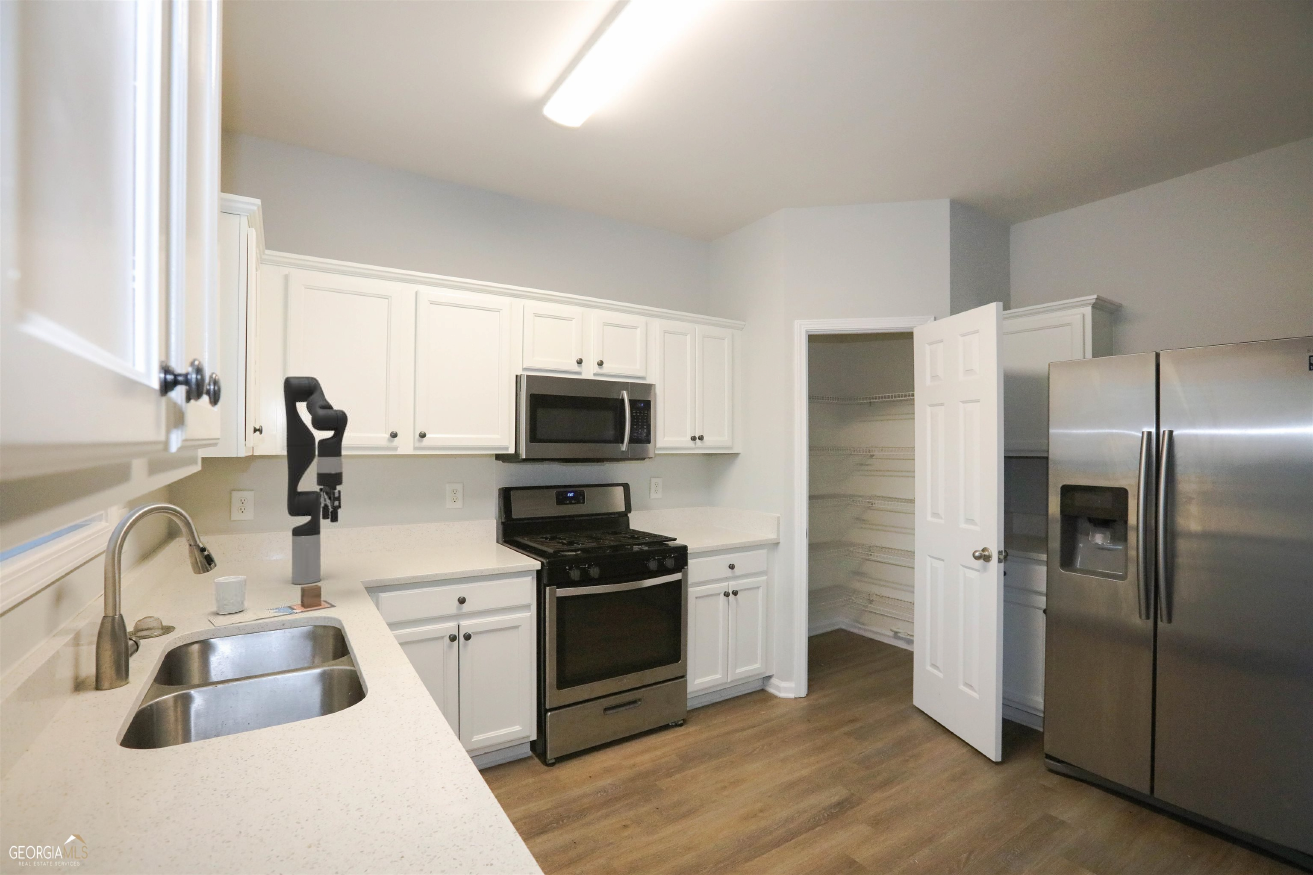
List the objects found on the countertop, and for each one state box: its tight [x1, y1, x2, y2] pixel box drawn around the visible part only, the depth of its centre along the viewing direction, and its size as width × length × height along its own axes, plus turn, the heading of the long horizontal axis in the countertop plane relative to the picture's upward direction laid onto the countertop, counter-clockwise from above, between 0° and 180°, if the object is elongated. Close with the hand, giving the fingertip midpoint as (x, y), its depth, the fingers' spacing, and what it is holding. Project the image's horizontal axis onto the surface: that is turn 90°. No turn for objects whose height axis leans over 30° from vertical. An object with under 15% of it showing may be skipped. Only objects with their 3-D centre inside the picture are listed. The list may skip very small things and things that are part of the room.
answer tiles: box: [267, 599, 337, 614], centre depth 188 cm, size 11×31×1 cm, turn 134°
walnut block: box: [300, 584, 322, 609], centre depth 195 cm, size 4×4×6 cm
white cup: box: [214, 575, 247, 614], centre depth 190 cm, size 8×8×10 cm
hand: (329, 520), depth 205 cm, fingers open, 8 cm apart
